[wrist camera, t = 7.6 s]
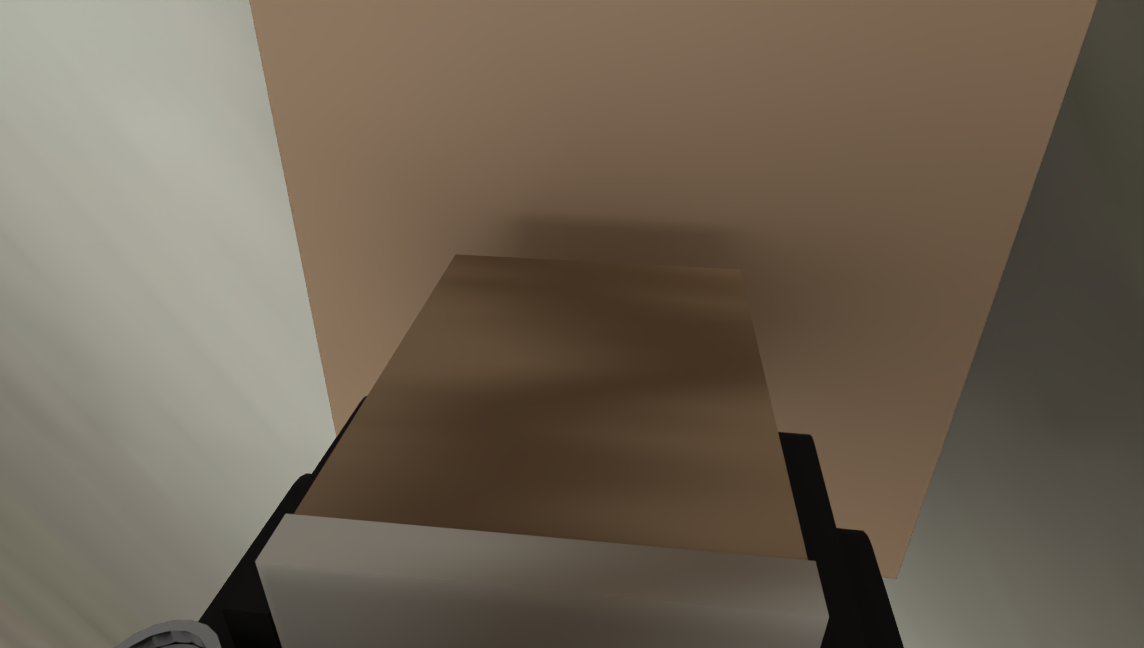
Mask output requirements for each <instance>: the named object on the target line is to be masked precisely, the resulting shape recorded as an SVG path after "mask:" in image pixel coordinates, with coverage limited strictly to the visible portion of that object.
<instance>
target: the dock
mask: <svg viewBox="0 0 1144 648" xmlns="http://www.w3.org/2000/svg"><path fill="white" fill-rule="evenodd" d="M249 1H250V6H251V11H252V16H253V21H254V26H255V31H256V36H257V41H258V46H259V51H260V56H261V61H262V66H263V71H264V76H265V81H266V86H267V91H268V96H269V101H270V106H271V111H272V116H273V121H274V126H275V131H276V136H277V141H278V146H279V151H280V156H281V161H282V166H283V171H284V176H285V181H286V186H287V191H288V196H289V201H290V206H291V211H292V216H293V221H294V226H295V231H296V236H297V241H298V246H299V251H300V256H301V261H302V267H303V272H304V277H305V282H306V287H307V292H308V297H309V302H310V307H311V312H312V317H313V322H314V327H315V332H316V337H317V342H318V347H319V352H320V357H321V362H322V367H323V372H324V377H325V382H326V387H327V392H328V397H329V402H330V407H331V412H332V417H333V422H334V427H335V432H336V437H337V436H338V434H339V433H340V431H341V430H342V428H343V427H344V425H345V424H346V422H347V421H348V419H349V418H350V416H351V415H352V413H353V412H354V410H355V409H356V407H357V406H358V404H359V403H360V401H361V400H362V399H363V398H364V397H365V396H368V394H369V392H370V391H371V389H372V388H373V386H374V384H375V383H376V381H377V380H378V378H379V376H380V375H381V373H382V372H383V370H384V368H385V367H386V365H387V364H388V362H389V360H390V359H391V357H392V356H393V354H394V352H395V351H396V349H397V348H398V346H399V344H400V343H401V341H402V339H403V338H404V336H405V335H406V333H407V331H408V330H409V328H410V327H411V325H412V323H413V322H414V320H415V319H416V317H417V315H418V314H419V312H420V311H421V309H422V307H423V306H424V304H425V303H426V301H427V299H428V298H429V296H430V295H431V293H432V291H433V290H434V288H435V287H436V285H437V283H438V282H439V280H440V278H441V277H442V275H443V274H444V272H445V270H446V269H447V267H448V266H449V264H450V262H451V261H452V259H453V258H454V256H455V254H458V255H477V256H496V257H515V258H534V259H553V260H572V261H591V262H610V263H629V264H648V265H667V266H686V267H704V268H723V269H740V271H741V276H742V280H743V284H744V288H745V293H746V297H747V301H748V306H749V310H750V314H751V318H752V323H753V327H754V331H755V336H756V340H757V344H758V348H759V353H760V357H761V361H762V365H763V370H764V374H765V378H766V383H767V387H768V391H769V395H770V400H771V404H772V408H773V413H774V417H775V421H776V425H777V430H778V432H787V433H798V434H809V435H811V436H812V438H813V440H814V444H815V447H816V451H817V455H818V459H819V463H820V467H821V470H822V474H823V478H824V482H825V486H826V490H827V493H828V497H829V501H830V505H831V509H832V513H833V516H834V520H835V524H836V528H842V529H852V530H862V531H864V532H865V533H866V534H867V535H868V537H869V539H870V542H871V544H872V547H873V550H874V554H875V557H876V560H877V563H878V566H879V570H880V573H881V576H882V577H886V578H895V579H897V576H898V573H899V571H900V568H901V565H902V562H903V559H904V556H905V553H906V550H907V548H908V545H909V542H910V539H911V536H912V533H913V530H914V527H915V524H916V522H917V519H918V516H919V513H920V510H921V507H922V504H923V501H924V499H925V496H926V493H927V490H928V487H929V484H930V481H931V478H932V476H933V473H934V470H935V467H936V464H937V461H938V458H939V455H940V453H941V450H942V447H943V444H944V441H945V438H946V435H947V432H948V430H949V427H950V424H951V421H952V418H953V415H954V412H955V409H956V406H957V404H958V401H959V398H960V395H961V392H962V389H963V386H964V383H965V381H966V378H967V375H968V372H969V369H970V366H971V363H972V360H973V358H974V355H975V352H976V349H977V346H978V343H979V340H980V337H981V335H982V332H983V329H984V326H985V323H986V320H987V317H988V314H989V311H990V309H991V306H992V303H993V300H994V297H995V294H996V291H997V288H998V286H999V283H1000V280H1001V277H1002V274H1003V271H1004V268H1005V265H1006V263H1007V260H1008V257H1009V254H1010V251H1011V248H1012V245H1013V242H1014V240H1015V237H1016V234H1017V231H1018V228H1019V225H1020V222H1021V219H1022V216H1023V214H1024V211H1025V208H1026V205H1027V202H1028V199H1029V196H1030V193H1031V191H1032V188H1033V185H1034V182H1035V179H1036V176H1037V173H1038V170H1039V168H1040V165H1041V162H1042V159H1043V156H1044V153H1045V150H1046V147H1047V145H1048V142H1049V139H1050V136H1051V133H1052V130H1053V127H1054V124H1055V122H1056V119H1057V116H1058V113H1059V110H1060V107H1061V104H1062V101H1063V98H1064V96H1065V93H1066V90H1067V87H1068V84H1069V81H1070V78H1071V75H1072V73H1073V70H1074V67H1075V64H1076V61H1077V58H1078V55H1079V52H1080V50H1081V47H1082V44H1083V41H1084V38H1085V35H1086V32H1087V29H1088V27H1089V24H1090V21H1091V18H1092V15H1093V12H1094V9H1095V6H1096V3H1097V1H1098V0H249Z"/></svg>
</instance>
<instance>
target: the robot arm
mask: <svg viewBox="0 0 1144 648" xmlns="http://www.w3.org/2000/svg"><path fill="white" fill-rule="evenodd" d="M366 397H367V396H365V397H364V398H363V399H362V400H361V401H360V403H359V404H358V406H357V407H356V409H355V410H354V412H353V413H352V415H351V416H350V418H349V419H348V421H347V422H346V424H345V425H344V427H343V428H342V430H341V431H340V433H339V434H338V436H337V437H336V439H335V440H334V442H333V443H332V445H331V446H330V448H329V449H328V451H327V452H326V453H325V455H324V456H323V458H322V459H321V461H320V462H319V464H318V465H317V467H316V468H315V470H314V471H313V473H312V474H307V473H306V474H305V475H303V476H301V477H299V479H298V480H297V481H296V482H295V483H294V484H293V486H292V487H291V489H290V490H289V491H288V493H287V494H286V496H285V497H284V499H283V500H282V502H281V503H280V504H279V506H278V507H277V509H276V510H275V512H274V513H273V515H272V516H271V517H270V519H269V520H268V522H267V523H266V525H265V526H264V528H263V529H262V530H261V532H260V533H259V535H258V536H257V538H256V539H255V541H254V542H253V543H252V545H251V546H250V548H249V549H248V551H247V552H246V554H245V555H244V556H243V558H242V559H241V561H240V562H239V564H238V565H237V567H236V568H235V569H234V571H233V572H232V574H231V575H230V577H229V578H228V579H227V581H226V582H225V584H224V585H223V587H222V588H221V590H220V591H219V592H218V594H217V595H216V597H215V598H214V600H213V601H212V603H211V604H210V605H209V607H208V608H207V610H206V611H205V613H204V614H203V616H202V617H201V618H200V620H199V621H198V622H196V621H193V620H172V621H168V622H164V623H160V624H156V625H153V626H150V627H148V628H146V629H144V630H142V631H139V632H137V633H135V634H133V635H132V636H130V637H129V638H127V639H126V640H124V641H123V642H121V643H120V644H119V645H117V646H116V647H114V648H282V645H281V642H280V639H279V636H278V633H277V630H276V626H275V623H274V620H273V617H272V614H271V611H270V607H269V604H268V601H267V598H266V595H265V591H264V588H263V585H262V582H261V579H260V576H259V572H258V569H257V566H256V563H255V561H256V559H257V558H258V556H259V555H260V553H261V551H262V550H263V548H264V547H265V545H266V544H267V542H268V540H269V539H270V537H271V536H272V534H273V533H274V531H275V529H276V528H277V526H278V525H279V523H280V522H281V520H282V519H283V517H284V515H285V514H294V513H295V511H296V510H297V508H298V506H299V505H300V503H301V502H302V500H303V498H304V497H305V495H306V494H307V492H308V490H309V489H310V487H311V486H312V484H313V482H314V481H315V479H316V478H317V476H318V474H319V473H320V471H321V469H322V468H323V466H324V465H325V463H326V461H327V460H328V458H329V457H330V455H331V453H332V452H333V450H334V449H335V447H336V445H337V444H338V442H339V441H340V439H341V437H342V436H343V434H344V433H345V431H346V429H347V428H348V426H349V425H350V423H351V421H352V420H353V418H354V417H355V415H356V413H357V412H358V410H359V408H360V407H361V405H362V404H363V402H364V400H365V399H366ZM778 434H779V438H780V443H781V447H782V451H783V455H784V460H785V464H786V468H787V473H788V477H789V481H790V485H791V490H792V494H793V498H794V503H795V507H796V511H797V515H798V520H799V524H800V528H801V532H802V537H803V541H804V545H805V550H806V554H807V558H808V560H810V561H816V565H817V569H818V573H819V578H820V582H821V586H822V590H823V594H824V598H825V602H826V606H827V610H828V614H829V619H828V623H827V626H826V629H825V633H824V636H823V640H822V643H821V647H820V648H904V647H903V644H902V640H901V637H900V634H899V631H898V627H897V624H896V621H895V618H894V615H893V611H892V608H891V605H890V602H889V599H888V595H887V592H886V589H885V586H884V582H883V579H882V576H881V573H880V570H879V566H878V563H877V560H876V557H875V554H874V550H873V547H872V544H871V542H870V539H869V537H868V535H867V534H866V533H865V532H864V531H862V530H852V529H842V528H836V524H835V520H834V516H833V513H832V509H831V505H830V501H829V497H828V493H827V490H826V486H825V482H824V478H823V474H822V470H821V467H820V463H819V459H818V455H817V451H816V447H815V444H814V440H813V438H812V436H811V435H809V434H798V433H787V432H778Z"/></svg>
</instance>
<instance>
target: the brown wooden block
mask: <svg viewBox="0 0 1144 648" xmlns="http://www.w3.org/2000/svg"><path fill="white" fill-rule="evenodd" d="M255 563H256V566H257V569H258V572H259V576H260V579H261V582H262V585H263V588H264V591H265V595H266V598H267V601H268V604H269V607H270V611H271V614H272V617H273V620H274V623H275V626H276V630H277V633H278V636H279V639H280V642H281V645H282V648H820V647H821V643H822V640H823V636H824V633H825V629H826V626H827V623H828V619H829V614H828V610H827V606H826V602H825V598H824V594H823V590H822V586H821V582H820V578H819V573H818V569H817V565H816V561H810V560H808V558H807V554H806V550H805V545H804V541H803V537H802V532H801V528H800V524H799V520H798V515H797V511H796V507H795V503H794V498H793V494H792V490H791V485H790V481H789V477H788V473H787V468H786V464H785V460H784V455H783V451H782V447H781V443H780V438H779V434H778V430H777V425H776V421H775V417H774V413H773V408H772V404H771V400H770V395H769V391H768V387H767V383H766V378H765V374H764V370H763V365H762V361H761V357H760V353H759V348H758V344H757V340H756V336H755V331H754V327H753V323H752V318H751V314H750V310H749V306H748V301H747V297H746V293H745V288H744V284H743V280H742V276H741V271H740V269H723V268H704V267H686V266H667V265H648V264H629V263H610V262H591V261H572V260H553V259H534V258H515V257H496V256H477V255H458V254H455V256H454V258H453V259H452V261H451V262H450V264H449V266H448V267H447V269H446V270H445V272H444V274H443V275H442V277H441V278H440V280H439V282H438V283H437V285H436V287H435V288H434V290H433V291H432V293H431V295H430V296H429V298H428V299H427V301H426V303H425V304H424V306H423V307H422V309H421V311H420V312H419V314H418V315H417V317H416V319H415V320H414V322H413V323H412V325H411V327H410V328H409V330H408V331H407V333H406V335H405V336H404V338H403V339H402V341H401V343H400V344H399V346H398V348H397V349H396V351H395V352H394V354H393V356H392V357H391V359H390V360H389V362H388V364H387V365H386V367H385V368H384V370H383V372H382V373H381V375H380V376H379V378H378V380H377V381H376V383H375V384H374V386H373V388H372V389H371V391H370V392H369V394H368V396H367V397H366V399H365V400H364V402H363V404H362V405H361V407H360V408H359V410H358V412H357V413H356V415H355V417H354V418H353V420H352V421H351V423H350V425H349V426H348V428H347V429H346V431H345V433H344V434H343V436H342V437H341V439H340V441H339V442H338V444H337V445H336V447H335V449H334V450H333V452H332V453H331V455H330V457H329V458H328V460H327V461H326V463H325V465H324V466H323V468H322V469H321V471H320V473H319V474H318V476H317V478H316V479H315V481H314V482H313V484H312V486H311V487H310V489H309V490H308V492H307V494H306V495H305V497H304V498H303V500H302V502H301V503H300V505H299V506H298V508H297V510H296V511H295V513H294V514H285V515H284V517H283V519H282V520H281V522H280V523H279V525H278V526H277V528H276V529H275V531H274V533H273V534H272V536H271V537H270V539H269V540H268V542H267V544H266V545H265V547H264V548H263V550H262V551H261V553H260V555H259V556H258V558H257V559H256V561H255Z"/></svg>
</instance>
